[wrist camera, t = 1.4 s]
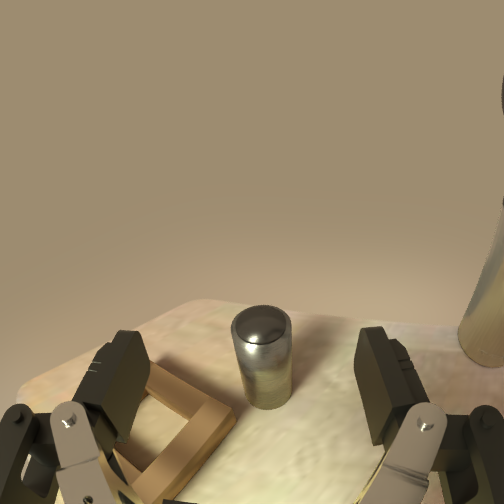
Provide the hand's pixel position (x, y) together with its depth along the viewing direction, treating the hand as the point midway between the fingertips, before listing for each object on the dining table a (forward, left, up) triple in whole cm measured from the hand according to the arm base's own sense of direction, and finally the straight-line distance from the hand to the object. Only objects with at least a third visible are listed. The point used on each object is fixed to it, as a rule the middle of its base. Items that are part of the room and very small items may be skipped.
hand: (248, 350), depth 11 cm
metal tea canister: (-8, -5, -19) cm, 22 cm away
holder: (+3, -12, -19) cm, 23 cm away
